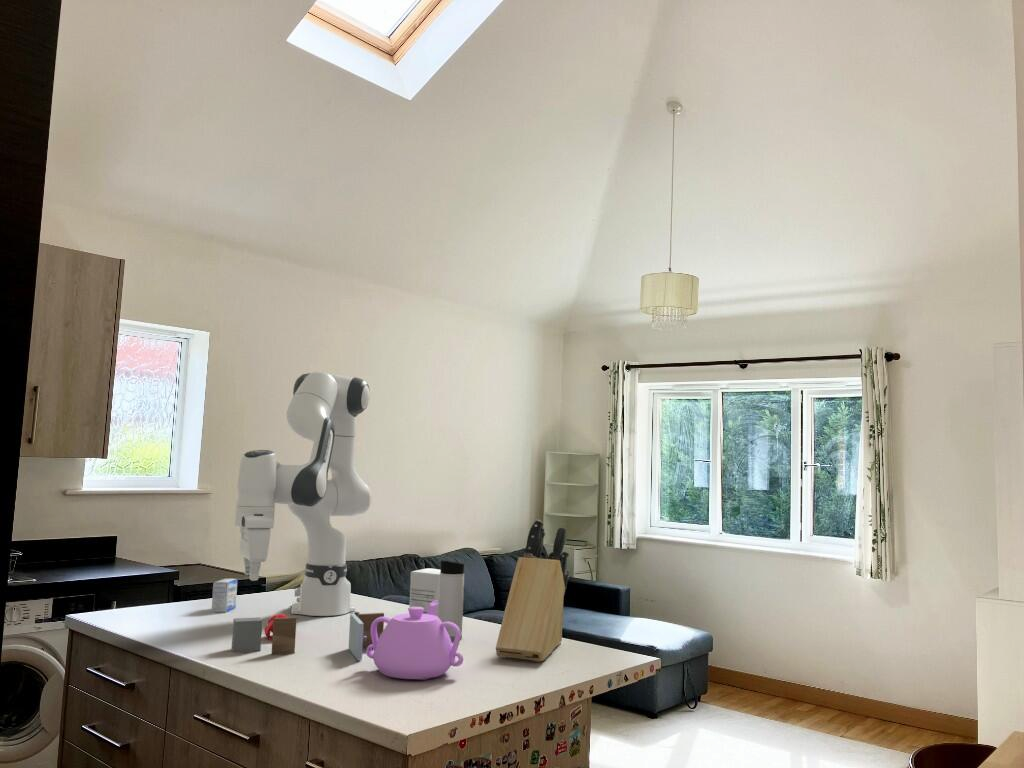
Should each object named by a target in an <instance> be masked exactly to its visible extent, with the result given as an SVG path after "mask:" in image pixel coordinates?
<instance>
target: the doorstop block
mask: <svg viewBox="0 0 1024 768" xmlns="http://www.w3.org/2000/svg"><path fill="white" fill-rule="evenodd" d="M232 624H233V625H232V637H231V638H232V639H231V651H232V653H233V654H235V653H248V652H249V653H251V652H253V653H254V652H261V650H262V649H261V646H262V634H263V633H262V631H263V619H262V618H261V617H258V616H257V617H240V618H238V617H237V618H233V622H232Z"/></svg>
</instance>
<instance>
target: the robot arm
mask: <svg viewBox="0 0 1024 768" xmlns="http://www.w3.org/2000/svg"><path fill="white" fill-rule="evenodd" d="M292 393H293V394H292V395H293V397H292V398H291V400H290V402H289V405H288V407H287V411H286V420H287V423H288V425H289V427H290V428H291V430H292V431H293V432H294V433H296V434H297V435H299V437H302V438H303V439H306V440H310V441H311V442H313V445H312V448H311V453H310V456H309V460H308V462H307V463H305V464H299V465H298V464H297V465H296V464H295V465H294V464H291V465H290V464H288V465H287V464H281V463H280V462H278V461H277V457H276V453H275V451H273V450H269V449H258V450H249V451H247V452H245V453H243V454H242V457H241V459H240V463H239V467H238V468H239V469H238V476H237V485H236V486H237V492H238V498H237V501H236V504H235V518H234V525H235V526H236V527H239V533H240V540H239V541H240V542H239V552H240V554H241V555H242V556H243V562H244V575H245V576H249V580H250V581H251V582H255V581H258V580H259V574H260V569H261V566H262V565H261V563H265V562H266V561H267V559H268V558H267V557H268V553H269V548H270V547H269V546H270V542H271V541H270V539H271V529H274V524H275V511H276V510H275V509H276V504H281V505H282V504H283V505H287V507H288V509H289V510H290V512H291V513H292V514H293V515H295V516H296V517H297V518H298V519H299V520H300V522H301V523H302V525H303V527H304V529H305V533H306V536H307V563H306V564H305V568H304V575H305V576H304V579H303V580H302V582H301V583H300V586H298V587H297V588H295V589H294V597H296V601H293V602H292V604H291V610H290V614H293V615H305V616H311V617H312V616H314V617H315V616H317V617H330V616H340V615H345V614H348V613H353V612H356V607H355V606H353V605H351V602H352V599H351V598H352V597H351V594H352V592H351V591H352V590H351V589H352V587H351V585H352V584H351V582H350V580H348V579H347V578H346V576H347V573H348V572H347V571H348V566H347V563H346V558H347V557H346V556H347V538H346V536H345V534H344V533H343V532H342V531H340V530H338V529H337V528H335V527H333V526H332V524H331V517H354V516H358V515H363V514H365V513H366V512H367V511H368V510H369V508H370V506H371V505H372V498H373V495H372V490H371V489H370V487H369V485H367V483H366V482H364V481H363V480H362V478H361V477H360V475H359V474H358V471H357V468H356V464H355V463H356V462H355V449H356V447H355V445H356V438H357V435H356V434H357V417H358V415H359V414H362V413H363V412H364V411H365V410H366V409H367V408H368V406H369V401H370V397H371V393H370V386H369V384H368V383H367V381H366V380H364V379H362V378H360V377H356V376H355V377H352V376H347V375H342V374H336V373H335V374H331V373H330V374H329V373H328V372H324V371H320V370H319V371H318V370H317V371H314V372H313V371H312V372H309V373H303V374H301V375H300V376H299V377H298V378H297V379H296V380H295V382H294V386H293V390H292ZM329 471H330V473H331V479H328V478H329V477H328V476H329V475H328V474H329Z"/></svg>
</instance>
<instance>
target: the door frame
mask: <svg viewBox="0 0 1024 768" xmlns="http://www.w3.org/2000/svg"><path fill="white" fill-rule="evenodd" d="M353 613H354V614H355V615H356V616H357V617H358V618H359V619H360V620H361V621H362V622H363V623H364V626H363V636H367V641H363V646H362V650H363V649H367V647H368V646H369V645H373V643H372V638H371V624H372V622H373V621H374V620H375V619H377V618H379V617H385V612H375V613H374V612H371V613H369V612H368V613H361V612H359V611H353ZM297 620H298V619H297V617H296V616H291V617H290V616H287V617H284V618H274V621H273V633H272V639H271V640H272V641H271V655H272V656H273V655H286V654H287V655H288V654H296V653H295V650H296V637H297V636H296V635H297V633H296V632H297ZM384 625H385V622H379V623H378V624H377V636H378V639H379V637H380V635H381V633H382V632H383V630H384V629H385V626H384Z"/></svg>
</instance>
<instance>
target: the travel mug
mask: <svg viewBox="0 0 1024 768" xmlns="http://www.w3.org/2000/svg"><path fill="white" fill-rule="evenodd" d="M440 570H441V572H440V591H439V615H438V618H439V619H440V620H441V622H442V623H443V622H452V623H454V624H456V625H457V626H458V627H459V629H460V632H461V637H460V640H462V638H463V619H464V617H463V616H464V611H463V610H464V593H465V591H464V589H465V563H463V562H462V563H459V562H458V561H457V562H456V561H449V560H446V559H445V560H444V559H442V560H440ZM445 629H446V630H447V632H448V634H449V637H450V639H451V642H454V639H455V633H454V630H453V629H452V628H450V627H445Z"/></svg>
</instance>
